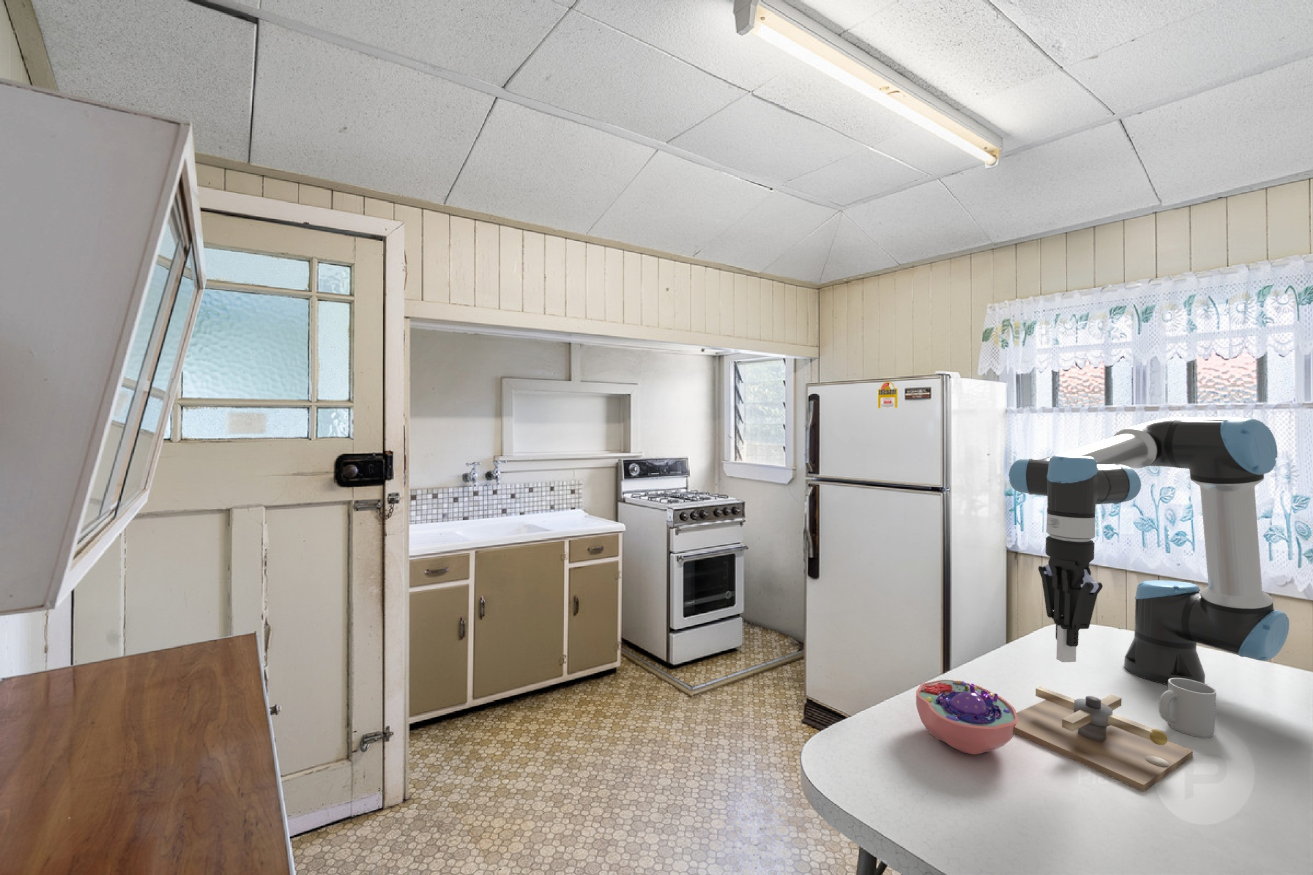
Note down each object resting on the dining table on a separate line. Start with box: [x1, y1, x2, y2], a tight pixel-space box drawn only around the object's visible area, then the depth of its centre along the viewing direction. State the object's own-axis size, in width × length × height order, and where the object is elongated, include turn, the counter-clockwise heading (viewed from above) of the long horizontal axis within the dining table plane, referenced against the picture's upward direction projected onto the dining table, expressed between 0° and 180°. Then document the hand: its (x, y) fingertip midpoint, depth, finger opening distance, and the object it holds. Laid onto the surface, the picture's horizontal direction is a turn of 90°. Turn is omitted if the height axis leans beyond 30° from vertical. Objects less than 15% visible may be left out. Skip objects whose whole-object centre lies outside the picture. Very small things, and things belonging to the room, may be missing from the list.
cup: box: [1158, 678, 1217, 739], centre depth 119 cm, size 7×10×9 cm
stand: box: [1013, 699, 1194, 792], centre depth 114 cm, size 21×24×4 cm
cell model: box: [915, 679, 1018, 755], centre depth 112 cm, size 17×20×11 cm
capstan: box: [1035, 686, 1169, 745], centre depth 113 cm, size 22×20×4 cm
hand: (1066, 660), depth 111 cm, fingers closed
